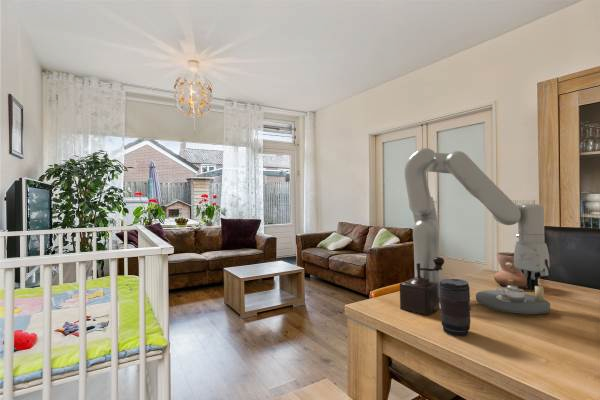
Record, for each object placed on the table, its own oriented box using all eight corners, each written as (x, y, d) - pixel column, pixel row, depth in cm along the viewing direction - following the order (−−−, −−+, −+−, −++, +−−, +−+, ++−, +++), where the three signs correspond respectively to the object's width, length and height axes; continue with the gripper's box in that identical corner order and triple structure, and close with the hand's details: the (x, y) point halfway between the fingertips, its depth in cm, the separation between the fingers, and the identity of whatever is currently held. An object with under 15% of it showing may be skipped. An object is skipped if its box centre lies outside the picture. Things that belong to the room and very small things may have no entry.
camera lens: (444, 324, 98) (443, 276, 98) (473, 330, 93) (472, 280, 93) (436, 333, 92) (435, 282, 92) (467, 340, 86) (466, 286, 87)
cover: (504, 301, 108) (504, 288, 108) (498, 295, 115) (498, 283, 115) (528, 303, 106) (527, 289, 106) (520, 297, 113) (520, 284, 113)
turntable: (481, 309, 105) (481, 290, 105) (471, 291, 126) (471, 275, 126) (561, 317, 97) (561, 296, 97) (537, 296, 118) (536, 279, 118)
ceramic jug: (529, 293, 127) (529, 258, 127) (489, 286, 138) (489, 254, 138) (537, 285, 140) (537, 253, 140) (500, 279, 150) (499, 250, 150)
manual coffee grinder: (429, 316, 104) (428, 263, 104) (399, 309, 112) (398, 259, 113) (447, 305, 115) (446, 256, 115) (419, 299, 123) (418, 253, 123)
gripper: (504, 236, 118) (505, 285, 118) (544, 241, 104) (546, 296, 104) (519, 235, 120) (520, 283, 120) (561, 240, 106) (562, 294, 106)
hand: (532, 289), depth 112 cm, fingers closed
